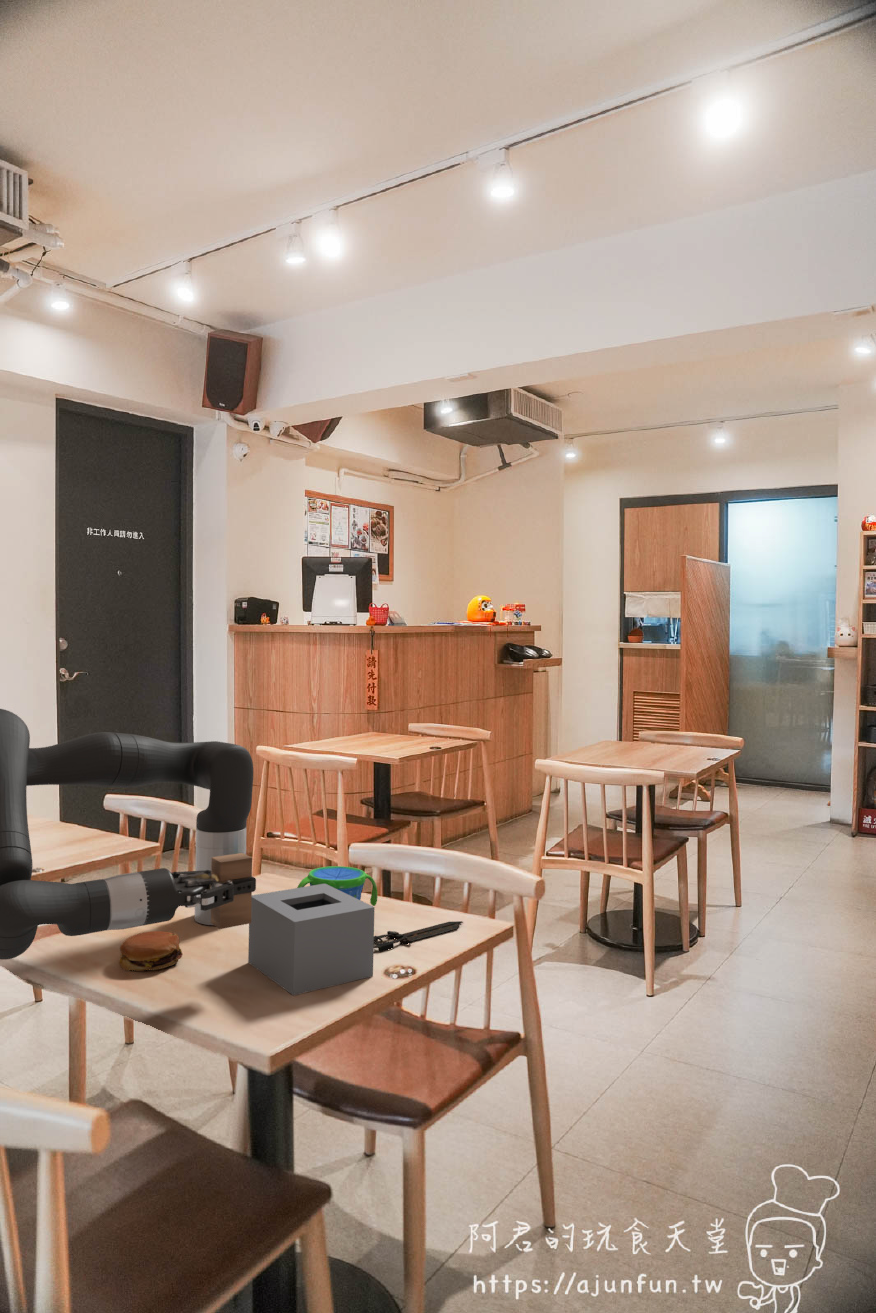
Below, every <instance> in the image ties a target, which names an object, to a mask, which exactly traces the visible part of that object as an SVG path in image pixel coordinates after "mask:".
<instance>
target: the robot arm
mask: <svg viewBox="0 0 876 1313" xmlns="http://www.w3.org/2000/svg"><path fill="white" fill-rule="evenodd" d="M30 743H31V735H30V729H29V728H28V725H27V724H26V722H25V721H24V720H23V719H22V718H21V717H20V716H18V714H16V713H14V712H12V711H11V710H7V709H4V708H0V960H2V961H3V960H5V961H6V960H12V959H15V958H17V957H20V956H21V955H22V954H24V953H25V952H26V951H27V950H28V949H29V948H30V947H31V945H32V944H33V942H34V940H35V938H36V934H37V931H38V928H39V926H41V925H57V927H58V930H59V931H60V932H61V934H62V935H64V936H68V937H76V936H84V935H87V934H93V933H94V934H95V933H100V932H104V931H112V930H113V931H115V930H117V931H118V930H125V929H131V928H137V927H141V926H142V927H144V926H147V925H148V926H149V925H153V924H158V923H164V922H165V923H166V922H169V921H171V920H173V918H174V916H175V914H176V911H177V909H178V908H179V907H185V909H186V908H187V909H189V908H194V917H193V918H194V921H195V922H196V923H199V924H202V925H206V926H214V925H213V924H212V923H211V909H212V908H215V907H218V906H221V905H224V904H227V903H229V902H232V901H234V895H238V894H244V893H249V892H252V893H254V892H256V890H257V880H256V877H254V876H252V877H245V878H239V879H233V880H230V879H229V880H223V881H216V879H215V878H210V877H211V861H212V857H217V856H224V855H231V854H238V853H244V854H246V855H247V826H248V825H247V823H248V822H247V821H248V818H249V815H250V813H251V809H252V800H253V787H254V786H253V785H254V762H253V758H252V755H251V753H250V751H248V750H247V748H245V747H244V746H241V745H240V744H235V743H230V742H223V741H218V740H217V741H214V740H213V741H212V740H211V741H196V742H195V741H194V742H171V741H166V740H161V739H157V738H154V737H150V736H144V735H139V734H132V733H123V732H122V733H121V732H111V731H110V732H109V731H102V732H99V731H98V732H92V733H89V734H84V735H81V736H78V737H75V738H73V739H69V740H66V741H63V742H60V743H57V744H53V745H49V746H44V747H43V746H42V747H33V748H32V747H30ZM160 783H174V784H183V785H188V786H193V787H197V788H202V789H205V790H209V797H208V798H209V799H208V805H207V807H206V808H205V809H203V810H200V811H199V812H198V813H197V815H196V819H195V821H196V826H195V827H196V829H195V830H196V831H195V832H196V834H195V870H188V871H186V870H185V871H173V872H171V870H169V869H168V868H165V867H161V868H156V869H148V870H142V871H136V872H128V873H121V874H116V875H113V876H109V877H105V878H100V879H92V880H88V881H87V880H86V881H80V882H75V883H67V882H66V883H65V882H60V881H49V880H48V881H46V880H33V879H32V875H33V855H32V848H31V839H30V830H29V822H28V806H27V803H28V802H27V787H29V786H30V787H31V786H50V785H51V786H52V785H53V786H55V785H56V786H60V785H61V786H66V785H67V786H91V787H92V786H93V787H94V786H95V787H107V788H108V787H110V788H137V787H143V786H150V785H154V784H160ZM210 884H211V889H210ZM224 891H225V893H223V892H224Z"/></svg>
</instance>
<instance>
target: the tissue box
mask: <svg viewBox="0 0 876 1313" xmlns="http://www.w3.org/2000/svg"><path fill="white" fill-rule="evenodd" d="M374 936H375V906H373V905H371V904H368V903H366V902H364V901H362V900H361V899H360V900H358V899H356V898H354V897H352V896H350V895H348V894H346V893H344V892H342V891H340V890H338V889H335V888H333V887H331V886H329V885H327V884H319V885H313V886H310V885H308V886H307V885H306V886H304V887H300V888H297V887H295V888H289V889H284V890H277V891H270V892H263V893H259V894H252V906H251V923H249V924H248V954H247V955H248V959H247V960H248V961H247V962H248V964H250V965H251V966H252V967H253V968H255V969H256V970H258V971H260V972H261V973H262V974H264V975H265V976H266V977H267V978H269V979H270V980H271V981H273V982H274V983H276V984H277V985H278V986H280V987H281V988H283V989H284V990H285V991H286V992H287V993H289V994H290V995H292V996H296V995H301V994H305V993H308V992H313V991H316V990H317V991H318V990H321V989H325V988H328V987H329V988H330V987H335V986H337V985H342V984H346V983H350V982H355V981H359V980H363V979H368V978H371V977H370V976H372V977H374V950H375V948H374V946H375V944H374Z"/></svg>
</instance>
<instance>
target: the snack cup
mask: <svg viewBox="0 0 876 1313" xmlns="http://www.w3.org/2000/svg"><path fill="white" fill-rule="evenodd" d="M366 879H367V880H369V881H370V882H371V885H372V886H371V887H372V889H371V893H370V894H371V896H370V900H369V903H370V905H371V906H373V907H376V905H377V902H378V897H379V896H378V895H379V894H378V887H377V886H378V885H377V884H376V881H375V880H374V878H373V877H372V876H371V875H369V874H367V873H366V872H365V871H364V870H362V869H360V868H356V867H352V866H342V865H340V866H338V865H336V866H335V865H332V866H331V865H330V866H322V867H317V868H314V869H312V870H310V871H309V872H308V875H307V876H306V877H304V878H303V879H301V881H300V882H299V883H298V885H297V887H296V888H300V887H306V886H307V885H308V884H309V886H313V885H319V884H327V885H329V886H331V887H333V888H335V889H338V890H340V891H342V892H344V893H346V894H348V895H350V896H352V897H354V898H356V899H358V900H361V899H362V893H363V889H364V885H365V882H366Z"/></svg>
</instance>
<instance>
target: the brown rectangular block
mask: <svg viewBox="0 0 876 1313" xmlns="http://www.w3.org/2000/svg"><path fill="white" fill-rule="evenodd" d="M245 877H253V857H252V856H249V855H248V854H247V853H246V854H244V853H238V854H231V855H224V856H217V857H212V861H211V877H210V878H215V879H216V881H223V880H229V879H230V880H233V879H239V878H245ZM210 889H211V884H210ZM223 893H225V891H224V892H223ZM252 895H253V892H249V893H244V894H238V895H234V901H232V902H229V903H227V904H224V905H221V906H218V907H215V908H212V909H211V923H212V924H213V925H212V926H215V927H216V928H217V929H219V930H223V929H228V928H229V929H230V928H233V927H237V926H244V925H249V923H251V906H252Z"/></svg>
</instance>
